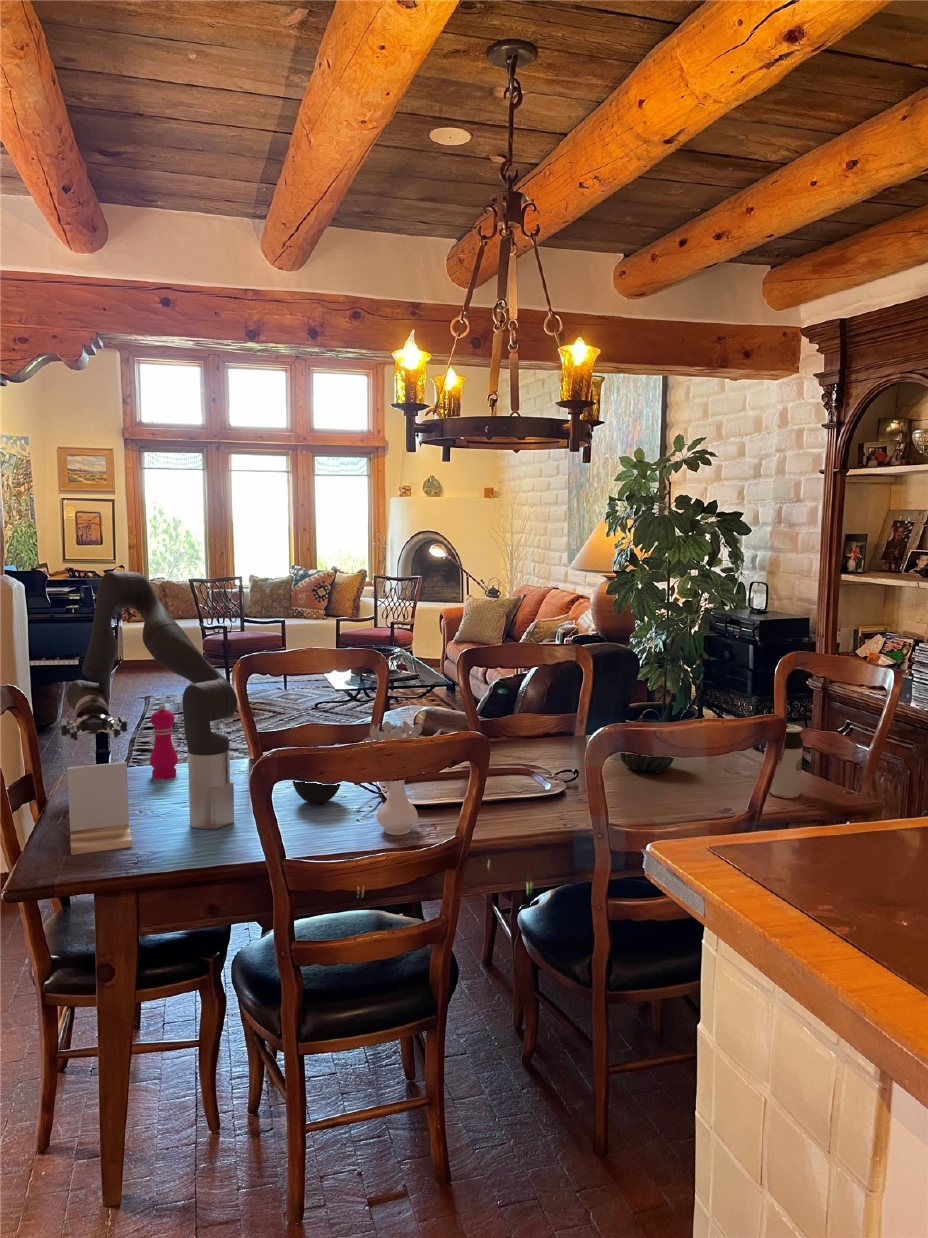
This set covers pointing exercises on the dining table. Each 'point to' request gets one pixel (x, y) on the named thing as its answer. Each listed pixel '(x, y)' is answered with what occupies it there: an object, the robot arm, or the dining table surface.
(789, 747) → the travel mug
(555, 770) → the dining table surface
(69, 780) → the white flat rectangular panel
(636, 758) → the squash
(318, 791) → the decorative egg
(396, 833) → the flower vase
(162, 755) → the pepper mill
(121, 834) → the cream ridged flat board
